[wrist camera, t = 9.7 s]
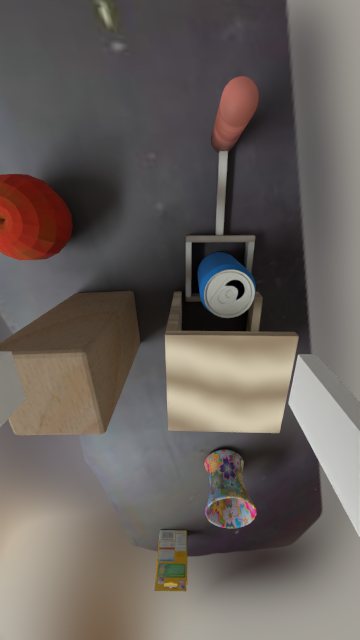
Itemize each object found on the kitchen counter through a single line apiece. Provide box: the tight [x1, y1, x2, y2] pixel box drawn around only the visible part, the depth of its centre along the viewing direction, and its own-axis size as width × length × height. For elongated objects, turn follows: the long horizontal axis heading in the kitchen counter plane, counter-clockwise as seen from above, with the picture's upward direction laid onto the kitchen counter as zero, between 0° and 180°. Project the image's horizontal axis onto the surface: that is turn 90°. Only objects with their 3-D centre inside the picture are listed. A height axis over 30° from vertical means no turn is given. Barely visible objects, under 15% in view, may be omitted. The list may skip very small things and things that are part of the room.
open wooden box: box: [165, 291, 299, 433], centre depth 35 cm, size 13×13×16 cm
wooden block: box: [0, 291, 141, 435], centre depth 33 cm, size 10×10×20 cm
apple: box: [0, 174, 73, 260], centre depth 31 cm, size 10×10×12 cm
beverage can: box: [197, 252, 256, 318], centre depth 33 cm, size 6×6×12 cm
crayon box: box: [155, 530, 187, 591], centre depth 60 cm, size 7×3×12 cm, turn 93°
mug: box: [205, 450, 257, 528], centre depth 50 cm, size 12×9×11 cm
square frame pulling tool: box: [186, 76, 259, 302], centre depth 30 cm, size 23×10×11 cm, turn 0°
